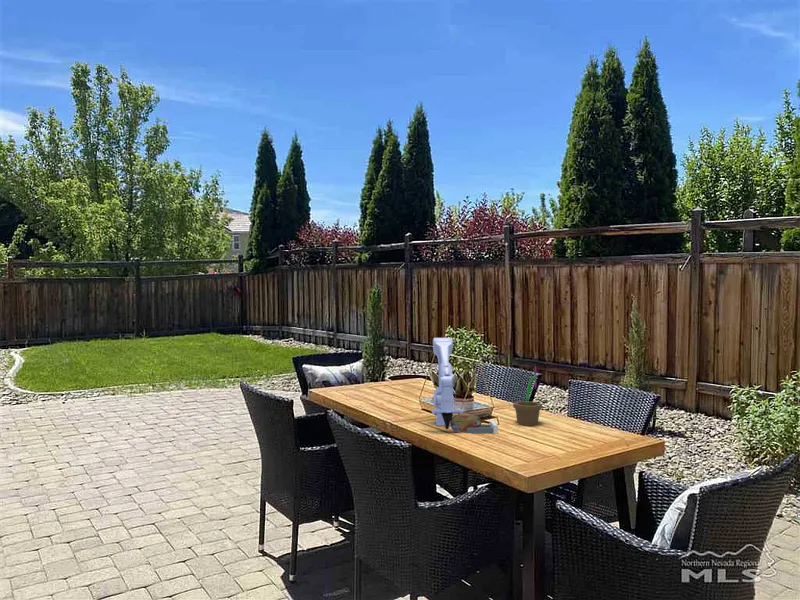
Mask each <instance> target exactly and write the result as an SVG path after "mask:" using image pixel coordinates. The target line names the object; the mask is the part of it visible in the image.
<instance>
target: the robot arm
mask: <svg viewBox="0 0 800 600" xmlns="http://www.w3.org/2000/svg"><path fill="white" fill-rule="evenodd" d="M453 343H454V340H453V338H452V337H434V338H433V339H432V349H433V350H432V352H433V354H434V355H435V356H436V357H437V363H438V364H437V365H438V367H437V368H438V369H437V371H438V387H437V388H436V389H435V390H434V392H433V406H434V407H435V408H432V409H431V414H432V415H435V417H436V418H435V419H436V420H434V423H436V424H435V426H436V425H437V427H442V426H443V427H445V430H449V428H450V427H451V425H450V422H451V419H452V418H453V417H454V414H455V415H463V408H454V403H455V401H454V387H455V376H454V373H453V370H452V369H453V366H452V364H451V363H450V362H449V361H450V359H449V358H450V356H449V355H451V354H452V352H453V347H454V344H453Z"/></svg>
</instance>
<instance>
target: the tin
mask: <svg viewBox="0 0 800 600" xmlns="http://www.w3.org/2000/svg"><path fill="white" fill-rule="evenodd" d="M450 425H451V426H450V428H451V430H453V432H455V433H457V434H458V433H459V432H460V434H462V433H461V432H464V433H467V428H480V427H481V425H482V419H481V418H480V417H479V415H476V414H474V413H469V414H466V413H465V414H455V415H453V417H452V419H451V422H450Z"/></svg>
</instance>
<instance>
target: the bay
mask: <svg viewBox="0 0 800 600" xmlns="http://www.w3.org/2000/svg"><path fill="white" fill-rule="evenodd" d="M467 433H472V434H493V435H498V434H499V424H498V423H496V422H495V420H489V424H488V423H487V424H481V427H480V428H467V432H466V434H467Z"/></svg>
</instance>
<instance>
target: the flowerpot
mask: <svg viewBox="0 0 800 600" xmlns="http://www.w3.org/2000/svg"><path fill="white" fill-rule="evenodd" d="M533 381H534V389H535V390H536V388H537V366H536V365H535V366H534V375H533V376H532V377H531V378H530V381H529V383H528V385H527V389H526V396H525V400H526V401H524V400H523V401H514V403H513V406H512V407H513V409H515V415H516V423H518V424H517V425H518V426H522V425H523V426H524V427H534V425H536V426H538V425H539V418H540V411H541V410H542V409H543V403H541V402H538V401H537V402H536V401H531V400H530V399H529V396H530V395H529V394H530V392H532V391H533V388H531V384H532V382H533ZM529 400H530V401H529ZM537 424H538V425H537Z"/></svg>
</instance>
